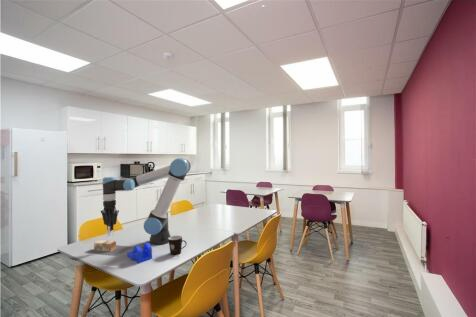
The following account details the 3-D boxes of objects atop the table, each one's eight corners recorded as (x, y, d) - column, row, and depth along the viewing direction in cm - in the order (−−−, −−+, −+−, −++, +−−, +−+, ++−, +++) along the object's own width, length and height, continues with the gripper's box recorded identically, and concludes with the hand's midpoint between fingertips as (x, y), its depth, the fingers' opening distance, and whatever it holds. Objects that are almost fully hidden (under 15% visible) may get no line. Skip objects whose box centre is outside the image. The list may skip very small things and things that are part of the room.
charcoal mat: (133, 247, 163) (133, 246, 163) (116, 256, 148) (116, 255, 148) (104, 245, 169) (104, 244, 169) (85, 254, 154) (85, 253, 154)
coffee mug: (166, 253, 150) (165, 237, 150) (178, 249, 156) (177, 234, 157) (175, 258, 142) (175, 242, 142) (187, 254, 148) (187, 238, 148)
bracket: (152, 258, 143) (151, 244, 143) (138, 263, 137) (138, 248, 137) (137, 252, 155) (137, 238, 155) (124, 256, 149) (124, 241, 149)
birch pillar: (115, 241, 160) (100, 240, 163) (110, 243, 155) (94, 242, 159) (116, 248, 160) (100, 247, 163) (110, 251, 155) (94, 250, 159)
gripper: (121, 199, 160) (122, 233, 160) (105, 199, 164) (106, 233, 164) (113, 201, 153) (114, 237, 153) (96, 200, 156) (97, 236, 156)
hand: (110, 235), depth 158 cm, fingers closed
